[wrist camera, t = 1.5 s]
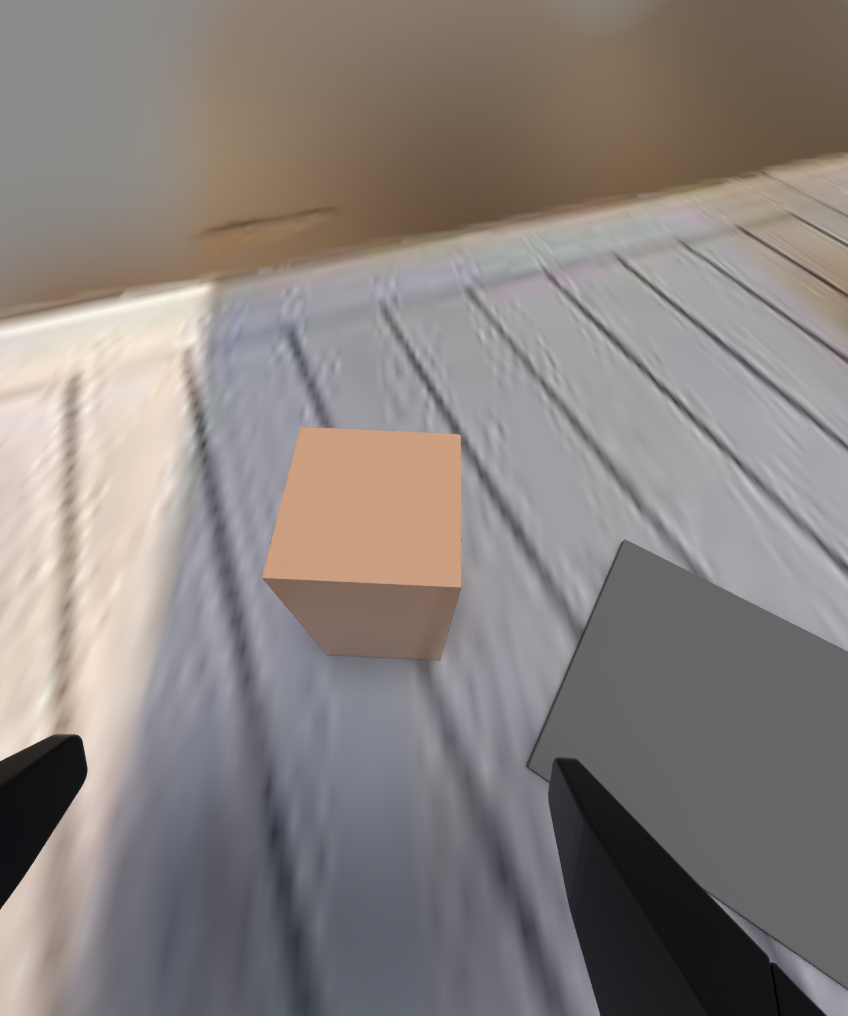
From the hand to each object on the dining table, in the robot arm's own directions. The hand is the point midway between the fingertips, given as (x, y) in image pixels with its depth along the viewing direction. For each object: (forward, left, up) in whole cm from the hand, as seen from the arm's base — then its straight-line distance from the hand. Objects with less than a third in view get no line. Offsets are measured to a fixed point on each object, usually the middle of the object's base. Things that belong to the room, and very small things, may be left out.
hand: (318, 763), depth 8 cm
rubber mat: (+11, -13, -14) cm, 22 cm away
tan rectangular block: (+7, +4, -14) cm, 16 cm away
